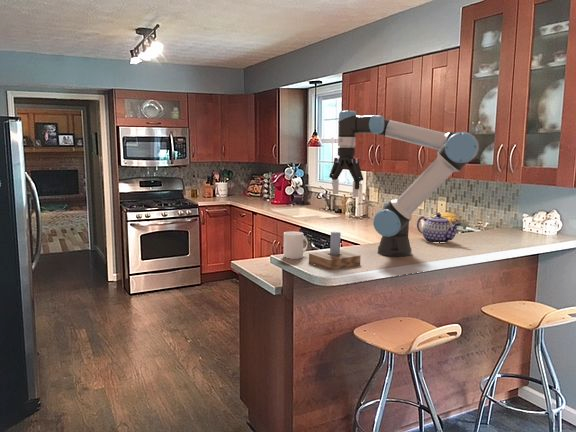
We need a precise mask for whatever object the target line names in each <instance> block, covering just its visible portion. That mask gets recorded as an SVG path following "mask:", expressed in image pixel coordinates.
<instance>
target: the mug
mask: <svg viewBox="0 0 576 432" xmlns="http://www.w3.org/2000/svg"><path fill="white" fill-rule="evenodd" d="M304 240H305V242H306V246H305V247H304ZM308 244H309V243H308V238H307V236H305V235H304V232H302V231H284V232H283V257H284V258H285V257H286V258H285V259H287V258H290V259H289V260H299V258H300V259H302V258H303V257H304V253H305V252H306V251H307V249H308Z"/></svg>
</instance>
